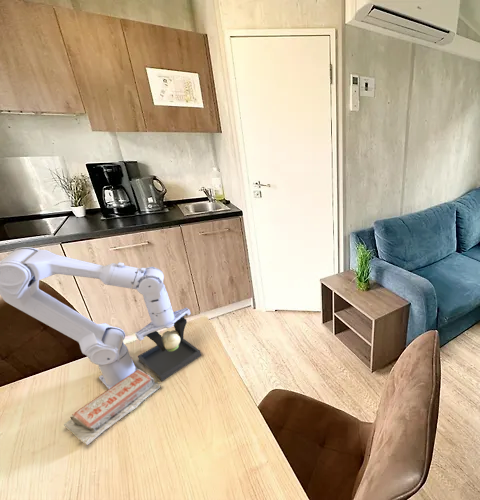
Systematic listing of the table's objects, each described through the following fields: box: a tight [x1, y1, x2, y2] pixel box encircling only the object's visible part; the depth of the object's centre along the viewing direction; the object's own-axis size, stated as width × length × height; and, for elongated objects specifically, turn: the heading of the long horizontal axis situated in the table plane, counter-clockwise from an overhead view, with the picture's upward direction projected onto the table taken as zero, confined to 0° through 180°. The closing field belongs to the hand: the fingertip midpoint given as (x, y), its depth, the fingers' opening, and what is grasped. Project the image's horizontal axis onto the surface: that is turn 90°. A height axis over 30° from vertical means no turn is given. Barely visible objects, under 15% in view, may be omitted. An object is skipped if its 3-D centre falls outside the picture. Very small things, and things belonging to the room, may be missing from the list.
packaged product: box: [63, 368, 161, 446], centre depth 75 cm, size 18×5×10 cm
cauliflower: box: [161, 329, 180, 351], centre depth 87 cm, size 5×5×6 cm
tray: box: [137, 338, 202, 382], centre depth 92 cm, size 14×12×2 cm
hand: (171, 344), depth 88 cm, fingers closed on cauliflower, 5 cm apart
